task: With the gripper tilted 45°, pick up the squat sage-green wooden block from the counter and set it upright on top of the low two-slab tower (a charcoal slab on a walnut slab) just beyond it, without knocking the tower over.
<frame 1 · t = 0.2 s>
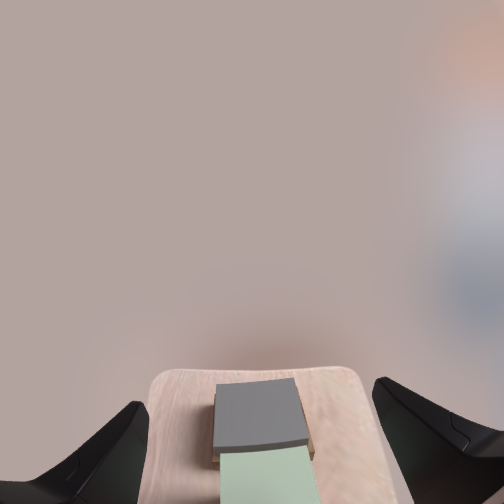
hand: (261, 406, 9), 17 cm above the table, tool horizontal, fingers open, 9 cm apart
walnut base slab: (260, 435, 23), on the table
charcoal top slab: (259, 422, 23), point 2 cm above the table
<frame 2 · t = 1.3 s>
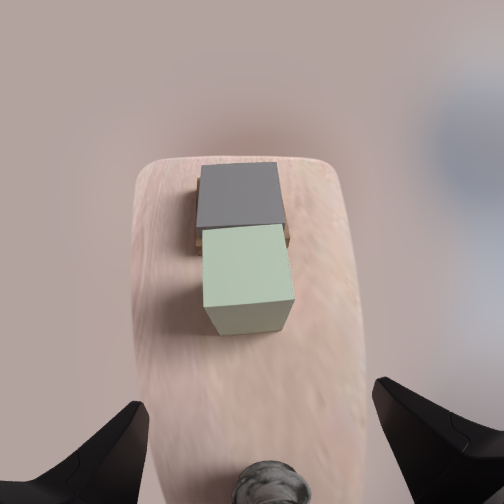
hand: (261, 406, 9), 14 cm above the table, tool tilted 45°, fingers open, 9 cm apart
sage green block: (248, 304, 25), on the table
walnut base slab: (240, 218, 30), on the table, touching charcoal top slab
charcoal top slab: (240, 203, 28), point 2 cm above the table, touching walnut base slab
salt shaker: (268, 484, 17), on the table
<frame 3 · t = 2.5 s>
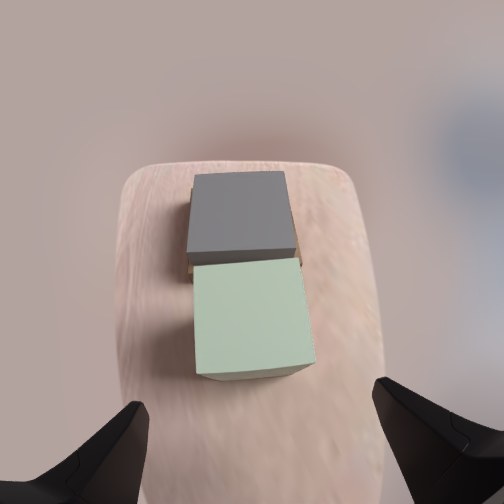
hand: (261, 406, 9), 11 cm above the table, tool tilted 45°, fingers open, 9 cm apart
sage green block: (252, 343, 20), on the table
walnut base slab: (242, 237, 26), on the table, touching charcoal top slab
charcoal top slab: (240, 221, 23), point 2 cm above the table, touching walnut base slab
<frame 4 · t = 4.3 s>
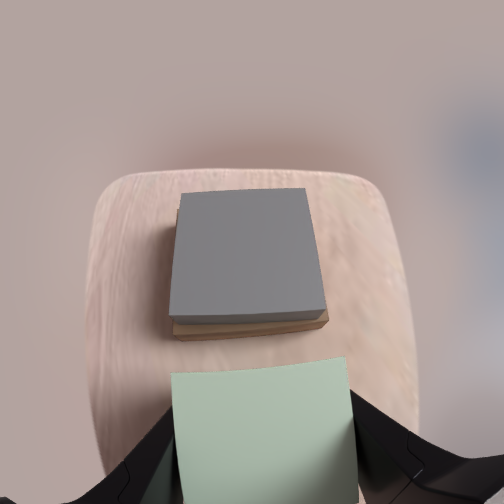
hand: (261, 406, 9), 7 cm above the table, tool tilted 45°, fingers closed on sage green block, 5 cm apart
sage green block: (260, 421, 14), on the table, touching gripper
walnut base slab: (245, 275, 19), on the table, touching charcoal top slab
charcoal top slab: (245, 260, 17), point 2 cm above the table, touching walnut base slab
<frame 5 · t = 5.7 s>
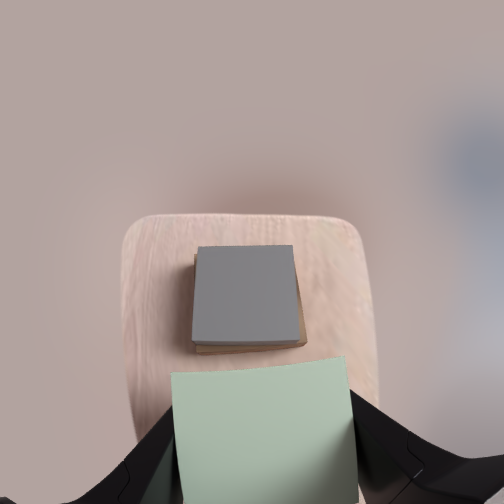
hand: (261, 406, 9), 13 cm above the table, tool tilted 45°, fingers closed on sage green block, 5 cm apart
sage green block: (260, 421, 14), point 7 cm above the table, touching gripper
walnut base slab: (247, 305, 25), on the table, touching charcoal top slab
charcoal top slab: (245, 298, 23), point 2 cm above the table, touching walnut base slab
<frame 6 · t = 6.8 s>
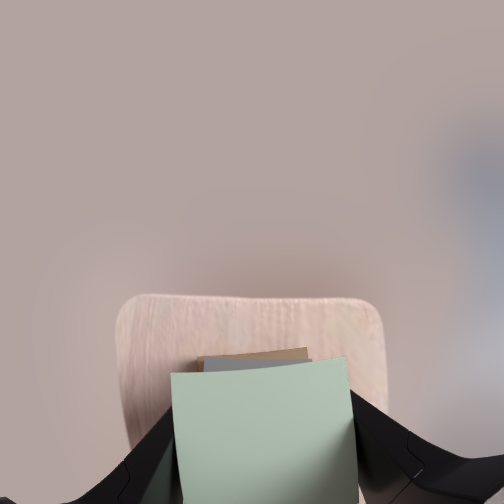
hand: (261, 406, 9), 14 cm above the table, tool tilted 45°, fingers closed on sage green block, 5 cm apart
sage green block: (260, 421, 14), point 7 cm above the table, touching gripper
walnut base slab: (257, 405, 21), on the table, touching charcoal top slab
charcoal top slab: (256, 409, 19), point 2 cm above the table, touching walnut base slab
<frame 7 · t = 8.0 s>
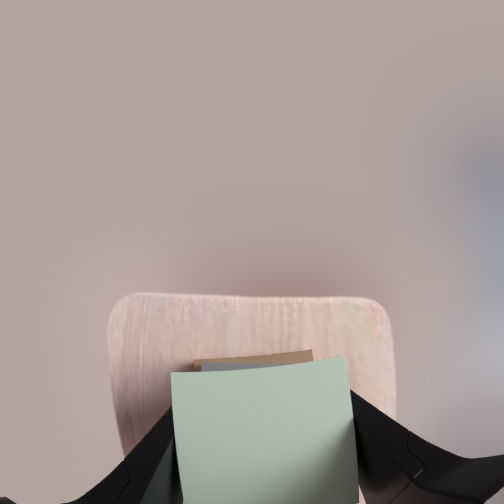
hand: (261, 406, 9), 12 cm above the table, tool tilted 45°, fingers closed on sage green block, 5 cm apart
sage green block: (260, 421, 14), point 6 cm above the table, touching gripper
walnut base slab: (258, 411, 19), on the table, touching charcoal top slab
charcoal top slab: (259, 417, 17), point 2 cm above the table, touching walnut base slab
when the fingers open (12 cm above the table, at t = 8.4 s): sage green block drops 2 cm, point 4 cm above the table.
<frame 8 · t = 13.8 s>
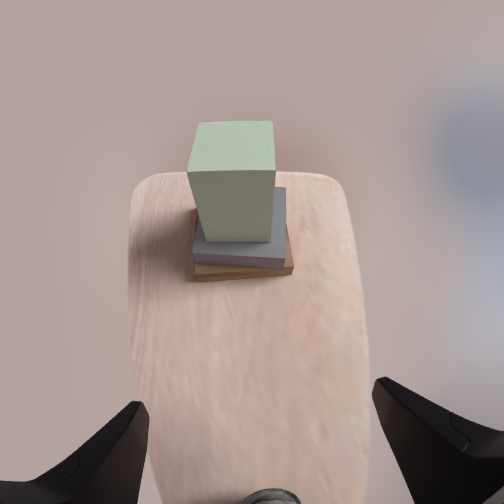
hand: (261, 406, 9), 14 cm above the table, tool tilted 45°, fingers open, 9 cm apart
sage green block: (239, 216, 25), point 4 cm above the table
walnut base slab: (242, 242, 29), on the table
charcoal top slab: (242, 229, 27), point 2 cm above the table
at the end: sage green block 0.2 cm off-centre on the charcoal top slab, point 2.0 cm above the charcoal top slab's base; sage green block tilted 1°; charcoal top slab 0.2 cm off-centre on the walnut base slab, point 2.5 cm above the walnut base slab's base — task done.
